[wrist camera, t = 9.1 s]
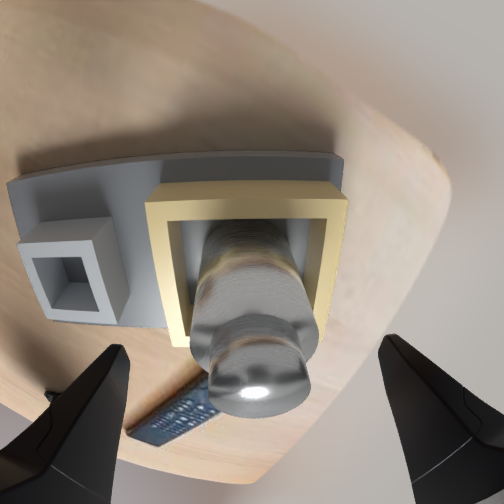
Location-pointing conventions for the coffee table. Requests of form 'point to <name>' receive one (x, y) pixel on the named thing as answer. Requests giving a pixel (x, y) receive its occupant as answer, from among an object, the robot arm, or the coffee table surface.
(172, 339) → the board
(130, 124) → the coffee table surface
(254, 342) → the steel fitting
